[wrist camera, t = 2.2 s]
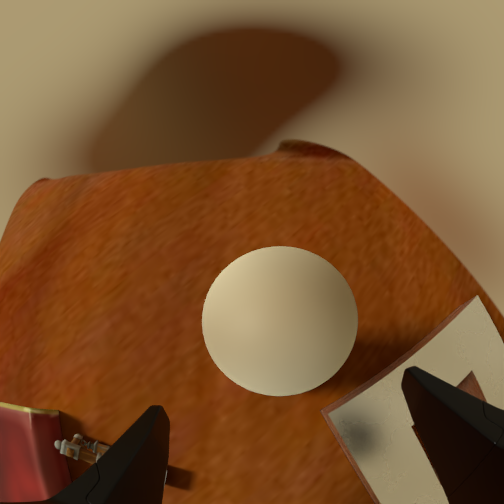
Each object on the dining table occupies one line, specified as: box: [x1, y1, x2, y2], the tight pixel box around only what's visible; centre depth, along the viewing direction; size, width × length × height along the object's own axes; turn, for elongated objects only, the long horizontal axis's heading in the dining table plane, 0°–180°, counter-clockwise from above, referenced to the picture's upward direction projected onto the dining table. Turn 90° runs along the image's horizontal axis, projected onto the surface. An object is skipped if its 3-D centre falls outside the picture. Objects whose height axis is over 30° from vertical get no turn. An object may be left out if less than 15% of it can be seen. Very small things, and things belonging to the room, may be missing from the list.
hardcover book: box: [0, 402, 72, 502], centre depth 11 cm, size 12×21×4 cm, turn 10°
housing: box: [320, 295, 504, 504], centre depth 14 cm, size 14×14×3 cm
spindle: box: [202, 246, 358, 396], centre depth 13 cm, size 4×4×13 cm
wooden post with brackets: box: [55, 433, 167, 480], centre depth 15 cm, size 2×8×4 cm, turn 79°
